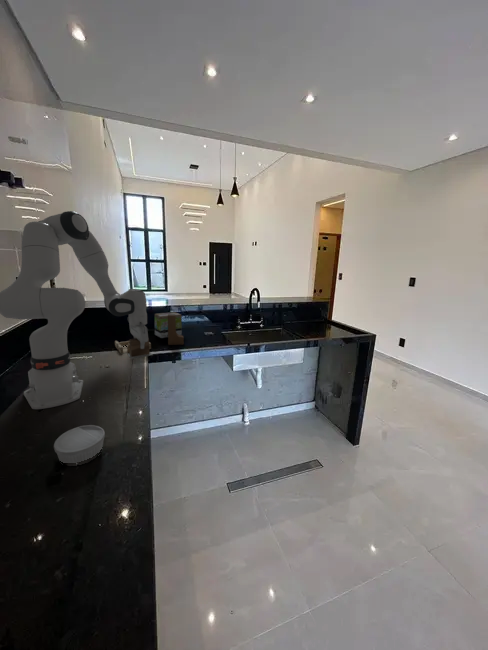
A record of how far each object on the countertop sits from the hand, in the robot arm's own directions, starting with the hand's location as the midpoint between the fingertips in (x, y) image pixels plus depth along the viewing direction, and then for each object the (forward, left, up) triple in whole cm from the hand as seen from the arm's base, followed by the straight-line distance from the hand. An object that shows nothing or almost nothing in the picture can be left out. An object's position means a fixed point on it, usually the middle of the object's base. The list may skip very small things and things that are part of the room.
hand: (139, 346), depth 141 cm
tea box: (+29, -27, -5) cm, 40 cm away
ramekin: (-67, +34, -6) cm, 75 cm away
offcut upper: (+8, 0, -2) cm, 8 cm away
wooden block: (+9, -24, -5) cm, 26 cm away
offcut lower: (+8, 0, -5) cm, 9 cm away
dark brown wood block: (0, 0, -5) cm, 5 cm away
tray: (+14, 0, -5) cm, 14 cm away
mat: (0, 0, -5) cm, 5 cm away
